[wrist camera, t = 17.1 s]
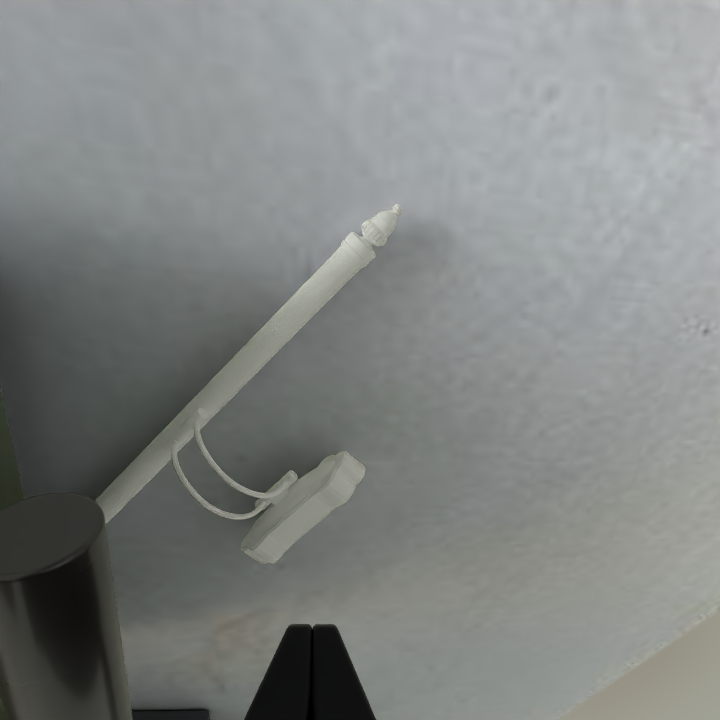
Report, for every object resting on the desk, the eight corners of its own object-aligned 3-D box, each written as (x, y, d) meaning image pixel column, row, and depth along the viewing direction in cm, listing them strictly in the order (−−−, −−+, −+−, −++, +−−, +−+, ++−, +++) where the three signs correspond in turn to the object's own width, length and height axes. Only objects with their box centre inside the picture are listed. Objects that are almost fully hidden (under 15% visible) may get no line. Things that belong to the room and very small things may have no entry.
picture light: (386, 192, 10) (401, 199, 8) (508, 326, 11) (546, 360, 9) (29, 563, 13) (-23, 633, 11) (158, 632, 15) (132, 705, 13)
